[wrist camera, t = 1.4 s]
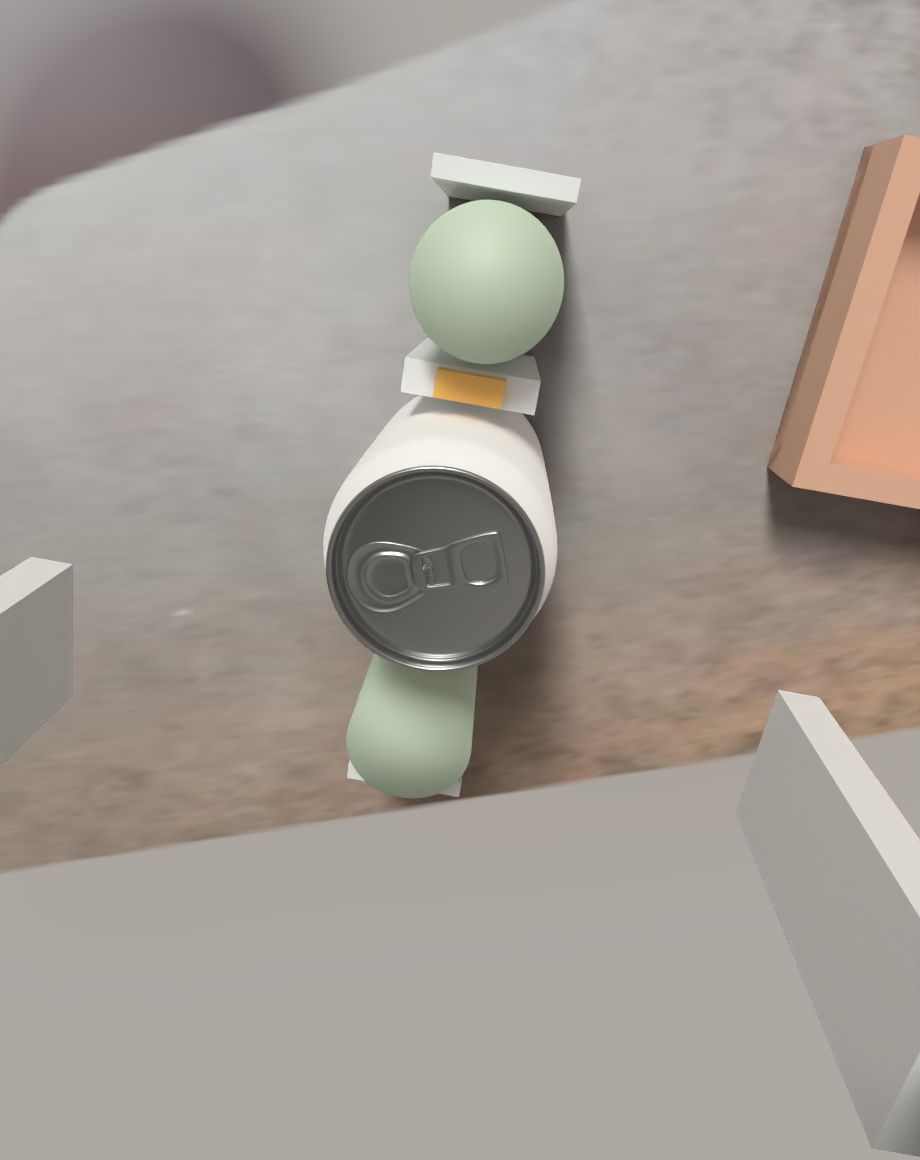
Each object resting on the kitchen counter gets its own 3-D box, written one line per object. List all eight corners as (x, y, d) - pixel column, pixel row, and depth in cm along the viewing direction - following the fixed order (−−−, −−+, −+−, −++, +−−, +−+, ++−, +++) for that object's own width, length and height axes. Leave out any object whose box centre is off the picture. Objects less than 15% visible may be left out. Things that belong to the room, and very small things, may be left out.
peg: (379, 663, 36) (339, 786, 27) (392, 577, 34) (354, 679, 26) (471, 679, 36) (460, 807, 27) (488, 594, 34) (481, 701, 26)
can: (360, 400, 32) (279, 474, 21) (529, 367, 31) (540, 425, 20) (397, 559, 34) (342, 703, 23) (556, 532, 33) (580, 668, 22)
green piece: (428, 326, 31) (399, 349, 22) (446, 208, 29) (421, 186, 21) (536, 345, 31) (546, 376, 22) (558, 228, 29) (579, 214, 21)
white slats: (376, 684, 36) (343, 787, 29) (451, 177, 29) (431, 149, 22) (467, 700, 36) (457, 807, 29) (564, 197, 29) (583, 176, 22)
